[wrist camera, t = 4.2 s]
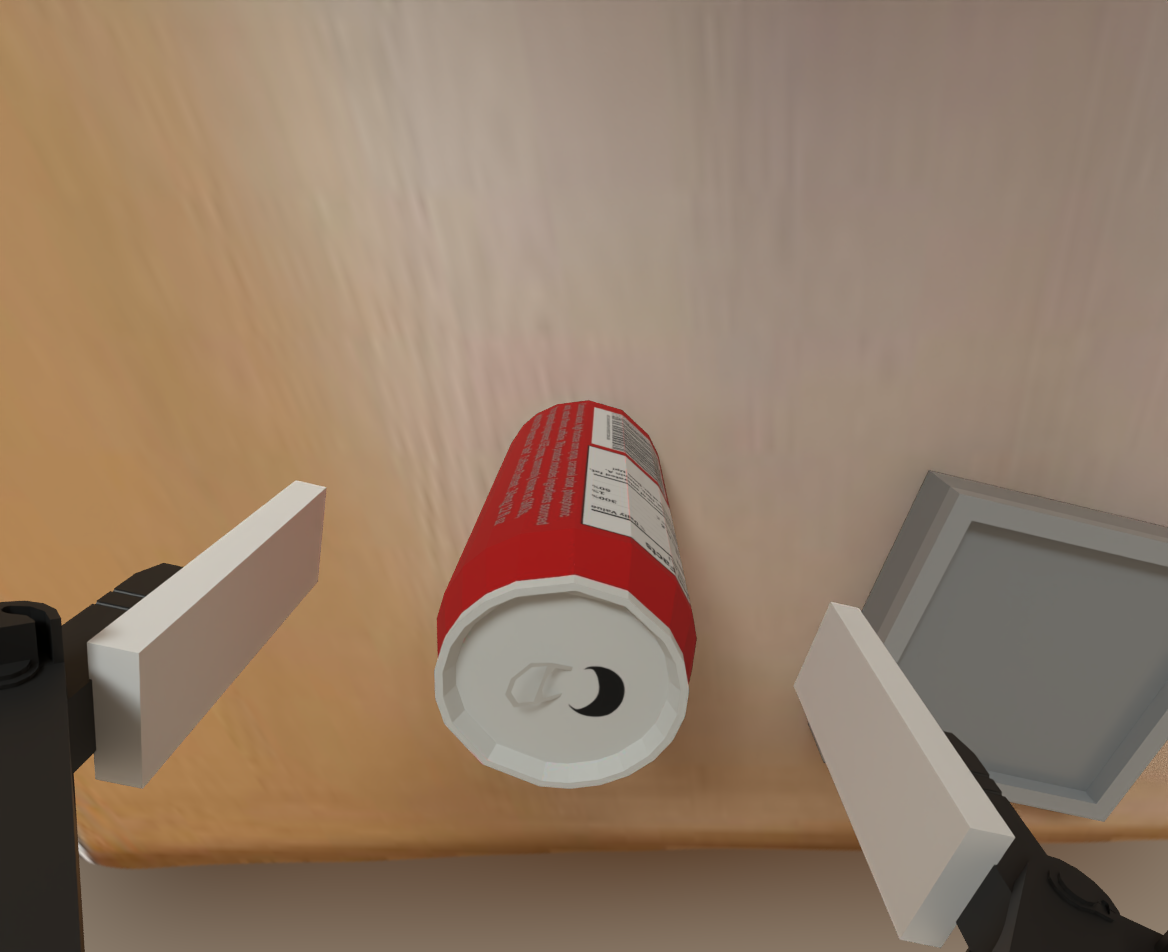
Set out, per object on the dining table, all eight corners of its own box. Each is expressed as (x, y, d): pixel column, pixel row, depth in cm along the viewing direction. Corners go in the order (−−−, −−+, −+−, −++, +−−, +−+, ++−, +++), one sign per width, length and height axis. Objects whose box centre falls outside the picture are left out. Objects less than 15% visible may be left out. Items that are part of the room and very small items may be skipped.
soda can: (491, 511, 24) (385, 767, 12) (532, 375, 22) (452, 536, 10) (628, 555, 24) (646, 839, 13) (682, 426, 22) (757, 631, 11)
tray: (807, 723, 27) (823, 762, 25) (929, 470, 22) (959, 493, 20) (1069, 779, 27) (1104, 821, 25) (1237, 543, 23) (1295, 573, 21)
